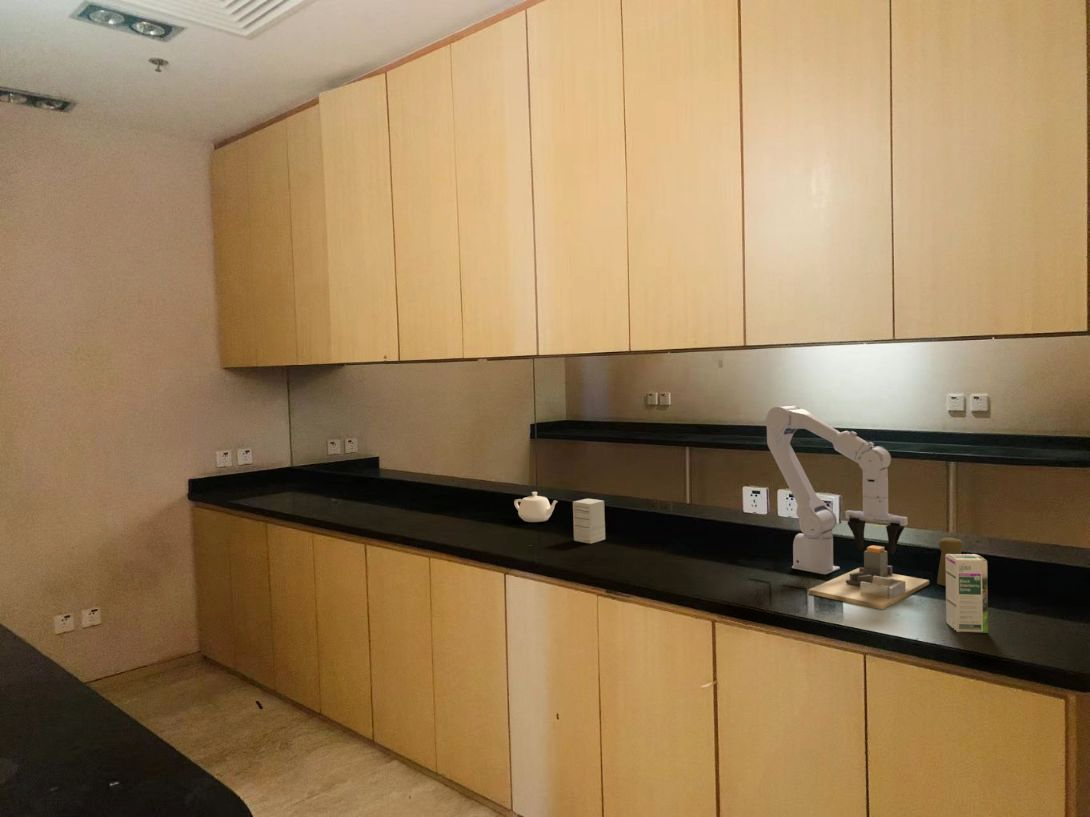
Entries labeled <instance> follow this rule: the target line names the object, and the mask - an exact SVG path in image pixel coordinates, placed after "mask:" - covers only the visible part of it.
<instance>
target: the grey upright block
mask: <svg viewBox="0 0 1090 817" xmlns="http://www.w3.org/2000/svg"><path fill="white" fill-rule="evenodd" d="M863 558H864V559H863V565H864V566H863V568H867V569H873V570H878V571H882V577H884V576H887V575H888V567H887V565H888V550H885V546H881V545H875V544H874V545H869V546H867V547H866V550H864V551H863Z"/></svg>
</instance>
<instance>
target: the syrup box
mask: <svg viewBox="0 0 1090 817" xmlns="http://www.w3.org/2000/svg"><path fill="white" fill-rule="evenodd" d="M945 561H946V586H945V607H946V609H945V610H946V611H945V612H946V618H945V619H946V624H947V625H949V627H950V628H952V629H953V628H954V629H953V631H955V630H956V631H955V632H957V633H985V634H986V633H989V628H988V627H989V624H988V623H989V617H988V615H989V614H988V612H989V611H988V610H989V608H988V598H989V597H988V560H987V559H985V558H984V557H983V556H981V555H979V554H976V553H971V554H970V553H966V554H965V553H963V554H962V553H961V554H946V555H945Z"/></svg>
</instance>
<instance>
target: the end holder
mask: <svg viewBox="0 0 1090 817" xmlns="http://www.w3.org/2000/svg"><path fill="white" fill-rule="evenodd" d="M905 592H906V581H901V580H896V579H891V578H885V577H880V576H873V583H868V582H863V581H862V582H860V593H863V594H867V595H872V596H877V597H882V598H887V599H893V598H895V597H897V596H899V595H901V594H903V593H905Z"/></svg>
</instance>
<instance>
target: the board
mask: <svg viewBox="0 0 1090 817" xmlns="http://www.w3.org/2000/svg"><path fill="white" fill-rule="evenodd" d="M859 568H860V567H858V568H856V569H852V570H850V571H849V572H846V573H843V574H842V575H839V576H837V577H834V578H832V579H829V580H827V581H825V582H823V583H821V584H818V585H815V586H814V587H811V588H810V589H808V594H809V595H812V596H813V595H814V596H818V597H823V598H827V599H832V600H836V601H841V602H846V603H849V604H855V605H859V606H865V607H868V608H873V609H879V610H885V609H887V608H888V607H891V606H893V605H894V604H896V603H897V602H900V601H901V600H903V599H904V598H906V597H908V596H910V595H912V594H914V593H916V592H918V591H920V590H921V589H924V588H926V587H927V586H929V585H930V580H929V579H924V578H918V577H915V576H908V575H904V574H903V575H901V574H896V573H892V574H891V575H887V576H884V577H885V578H891V579H896V580H901V581H906V592H905V593H903V594H901V595H899V596H897V597H895V598H893V599H887V598H882V597H877V596H872V595H867V594H863V593H860V586H855V585H850V584H847V583H846V580H850V574H851V573H858V572H859ZM872 583H873V580H872Z"/></svg>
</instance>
